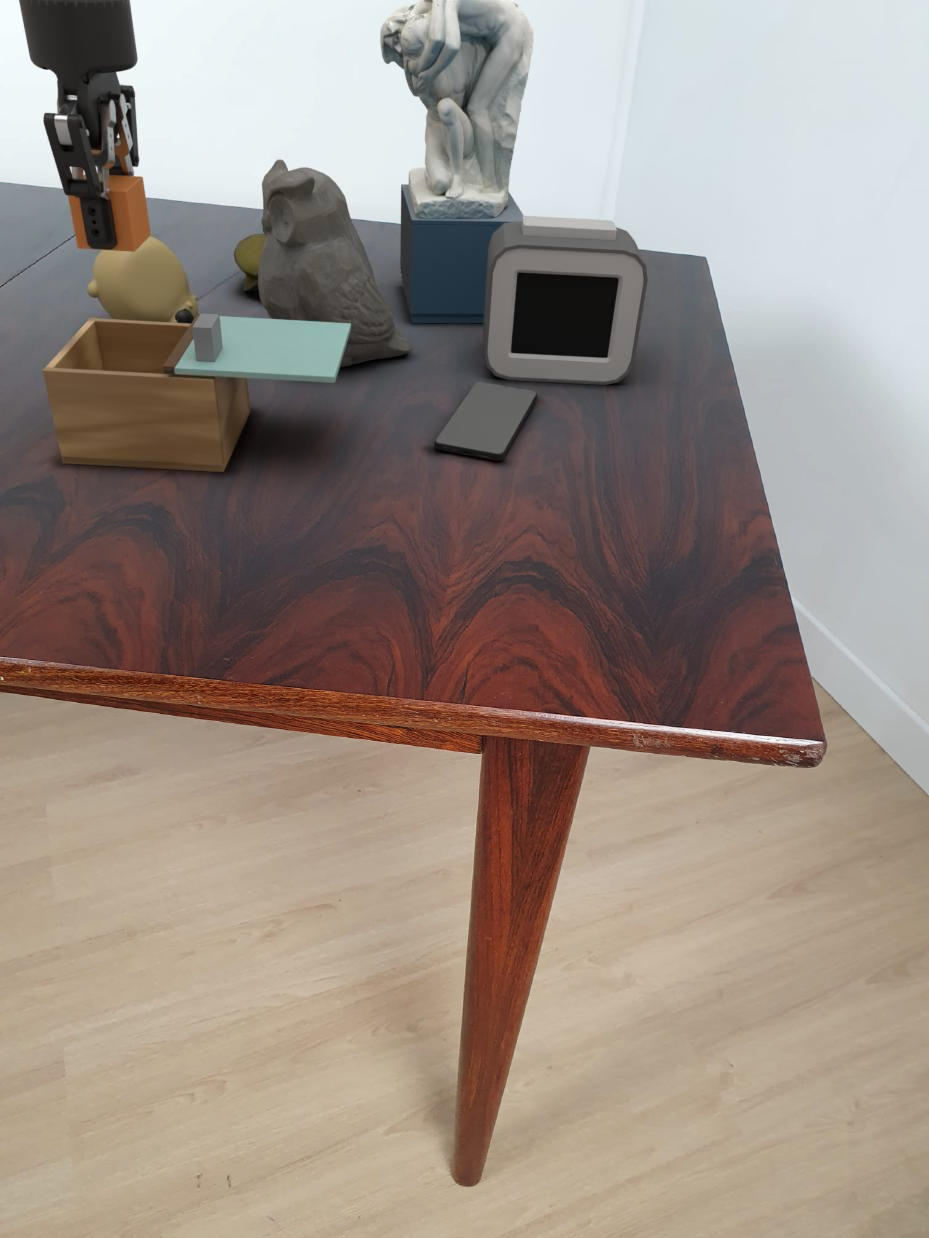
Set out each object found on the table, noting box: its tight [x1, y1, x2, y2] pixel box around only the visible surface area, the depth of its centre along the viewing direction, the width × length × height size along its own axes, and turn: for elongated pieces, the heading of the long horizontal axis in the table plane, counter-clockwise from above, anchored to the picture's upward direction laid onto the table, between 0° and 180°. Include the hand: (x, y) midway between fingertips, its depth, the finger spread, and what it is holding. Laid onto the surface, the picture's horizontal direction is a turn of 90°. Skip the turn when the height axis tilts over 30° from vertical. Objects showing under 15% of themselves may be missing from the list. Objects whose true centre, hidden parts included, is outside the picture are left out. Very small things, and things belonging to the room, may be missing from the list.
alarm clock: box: [482, 215, 649, 386], centre depth 107 cm, size 16×11×16 cm
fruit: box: [233, 233, 266, 292], centre depth 125 cm, size 11×12×7 cm
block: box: [67, 174, 152, 252], centre depth 79 cm, size 5×5×5 cm
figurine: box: [258, 158, 410, 368], centre depth 104 cm, size 14×16×20 cm
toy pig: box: [86, 235, 199, 324], centre depth 111 cm, size 10×12×11 cm
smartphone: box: [433, 381, 538, 461], centre depth 98 cm, size 7×1×15 cm
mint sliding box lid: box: [163, 313, 351, 384], centre depth 86 cm, size 12×14×4 cm
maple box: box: [42, 317, 251, 473], centre depth 90 cm, size 12×14×9 cm
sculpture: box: [379, 0, 534, 324], centre depth 116 cm, size 17×16×35 cm
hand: (113, 237), depth 80 cm, fingers closed on block, 4 cm apart
